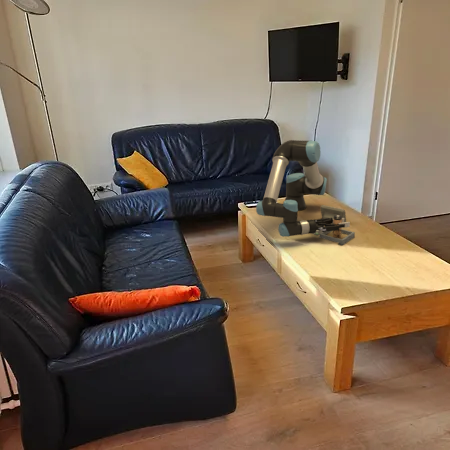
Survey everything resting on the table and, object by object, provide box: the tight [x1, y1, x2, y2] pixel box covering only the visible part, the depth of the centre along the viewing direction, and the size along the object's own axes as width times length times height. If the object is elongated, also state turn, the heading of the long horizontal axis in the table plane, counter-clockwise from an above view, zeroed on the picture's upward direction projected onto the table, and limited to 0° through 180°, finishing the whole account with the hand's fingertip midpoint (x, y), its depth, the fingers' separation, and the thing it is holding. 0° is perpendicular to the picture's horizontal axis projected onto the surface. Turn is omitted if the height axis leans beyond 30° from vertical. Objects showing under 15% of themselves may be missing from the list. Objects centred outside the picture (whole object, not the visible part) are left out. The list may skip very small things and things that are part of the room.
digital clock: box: [320, 204, 347, 224], centre depth 240 cm, size 16×9×11 cm, turn 37°
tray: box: [318, 228, 356, 246], centre depth 220 cm, size 14×14×3 cm
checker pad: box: [311, 230, 322, 236], centre depth 231 cm, size 14×12×2 cm
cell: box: [332, 215, 343, 239], centre depth 218 cm, size 4×4×13 cm
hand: (346, 222), depth 218 cm, fingers open, 5 cm apart
